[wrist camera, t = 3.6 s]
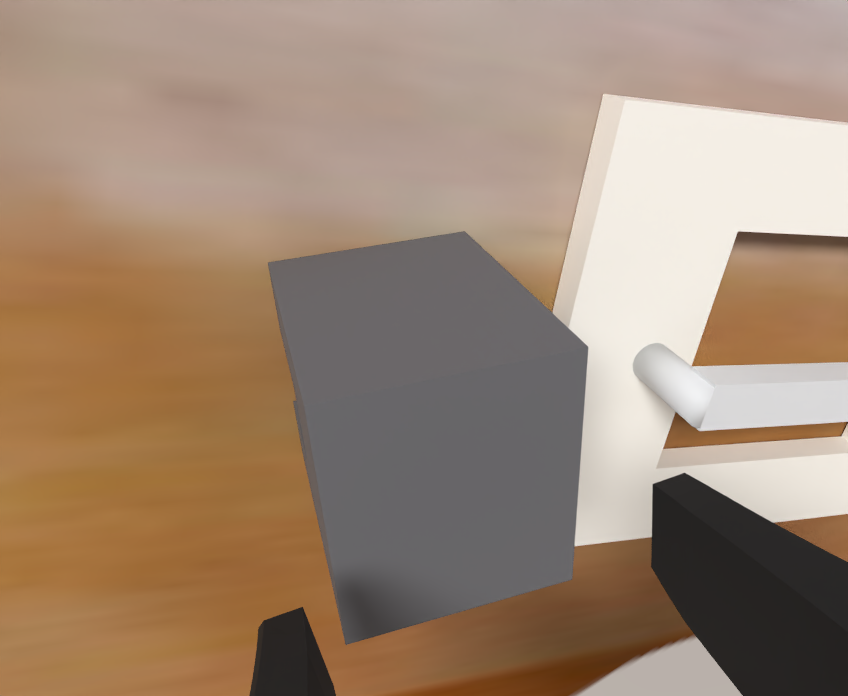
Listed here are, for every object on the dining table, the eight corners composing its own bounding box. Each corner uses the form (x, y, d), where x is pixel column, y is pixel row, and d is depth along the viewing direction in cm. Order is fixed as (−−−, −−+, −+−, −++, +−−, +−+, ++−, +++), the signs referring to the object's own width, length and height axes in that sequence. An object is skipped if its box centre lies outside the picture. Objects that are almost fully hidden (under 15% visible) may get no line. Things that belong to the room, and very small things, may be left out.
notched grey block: (267, 262, 16) (304, 405, 11) (464, 231, 17) (589, 346, 12) (303, 454, 19) (345, 644, 14) (470, 417, 20) (571, 579, 15)
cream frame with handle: (1079, 149, 22) (1218, 176, 19) (894, 489, 28) (977, 550, 25) (603, 94, 17) (693, 118, 14) (501, 532, 23) (547, 616, 20)
